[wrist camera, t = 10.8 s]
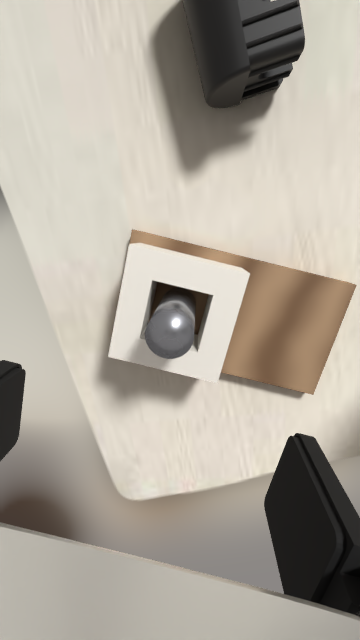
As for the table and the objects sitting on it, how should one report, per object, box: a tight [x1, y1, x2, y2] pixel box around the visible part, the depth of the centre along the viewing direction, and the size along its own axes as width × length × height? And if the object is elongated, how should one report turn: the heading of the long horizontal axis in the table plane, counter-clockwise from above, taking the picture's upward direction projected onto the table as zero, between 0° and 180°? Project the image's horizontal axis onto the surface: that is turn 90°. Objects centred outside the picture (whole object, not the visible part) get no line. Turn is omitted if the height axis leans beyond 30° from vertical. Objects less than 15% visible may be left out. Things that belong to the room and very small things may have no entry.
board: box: [130, 230, 356, 395], centre depth 32 cm, size 22×12×2 cm, turn 77°
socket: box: [108, 243, 250, 383], centre depth 29 cm, size 10×10×5 cm
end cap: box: [183, 0, 305, 108], centre depth 23 cm, size 10×7×7 cm
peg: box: [145, 287, 196, 359], centre depth 26 cm, size 3×3×10 cm
